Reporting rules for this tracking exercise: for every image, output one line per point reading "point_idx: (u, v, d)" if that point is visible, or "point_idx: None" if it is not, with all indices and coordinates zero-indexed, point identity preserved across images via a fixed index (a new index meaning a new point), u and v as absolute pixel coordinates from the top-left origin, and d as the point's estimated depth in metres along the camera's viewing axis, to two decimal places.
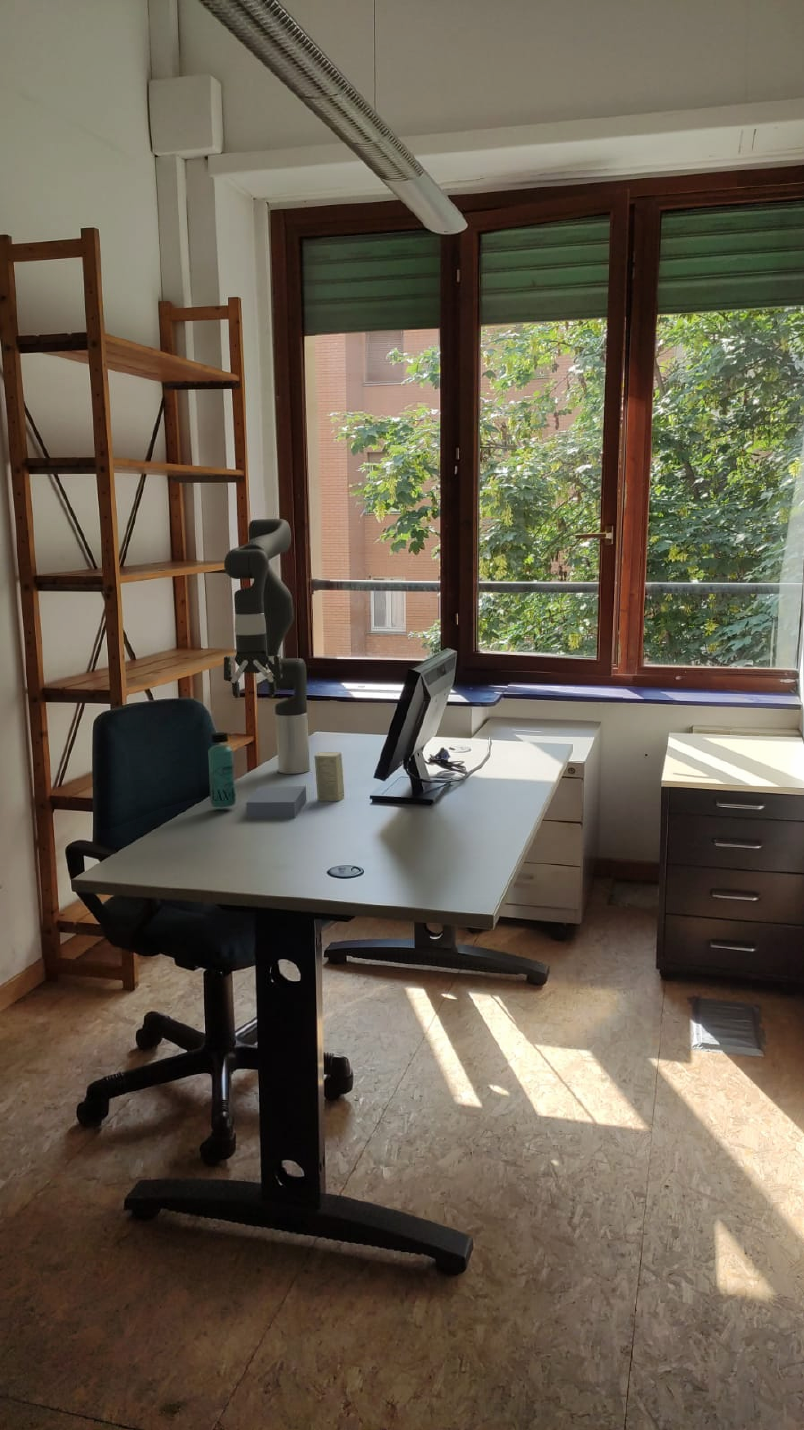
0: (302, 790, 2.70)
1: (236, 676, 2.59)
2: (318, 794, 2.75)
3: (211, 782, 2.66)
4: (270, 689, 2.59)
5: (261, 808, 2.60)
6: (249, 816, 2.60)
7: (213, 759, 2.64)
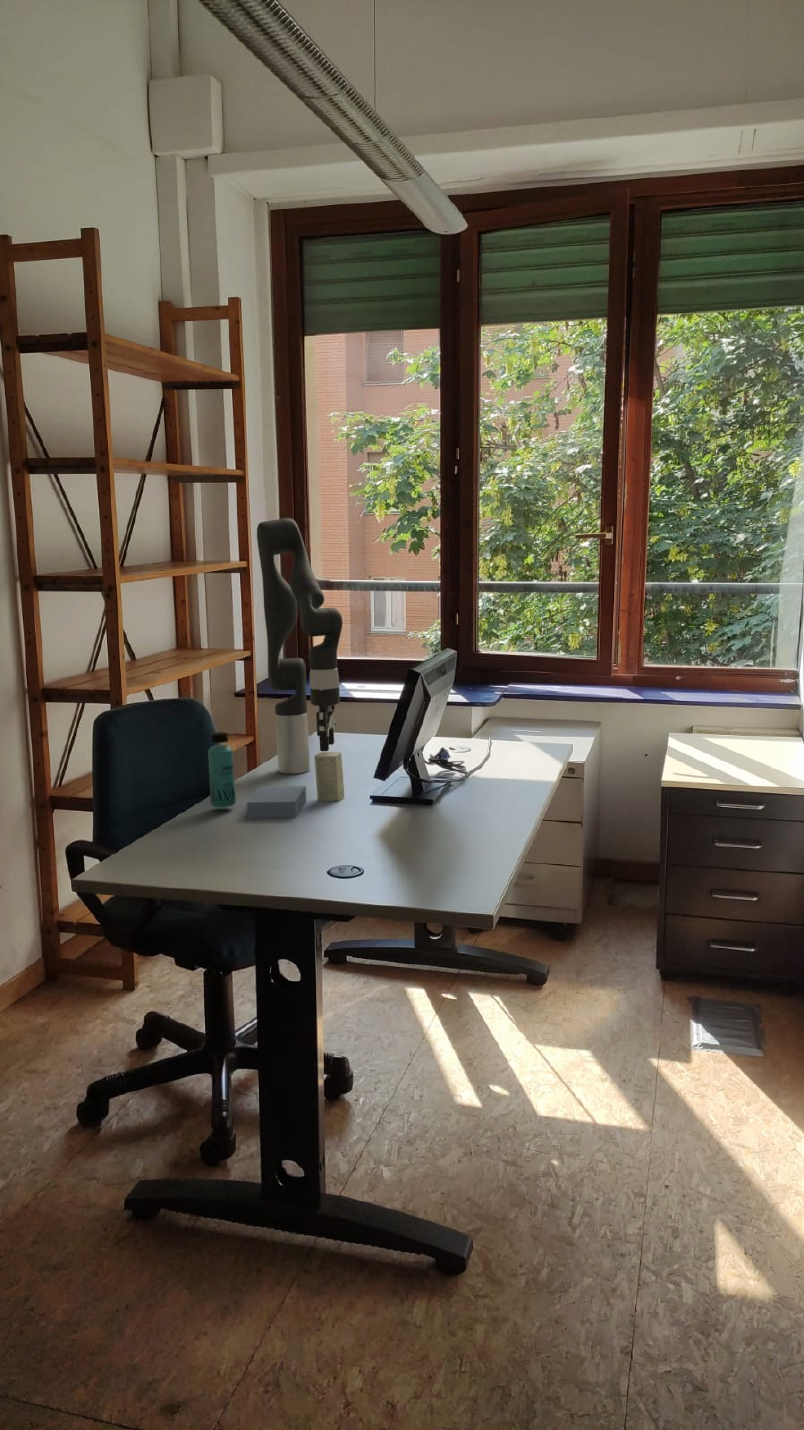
0: (302, 790, 2.70)
1: (328, 729, 2.69)
2: (318, 794, 2.75)
3: (211, 782, 2.66)
4: (333, 736, 2.78)
5: (262, 808, 2.60)
6: (250, 816, 2.60)
7: (213, 759, 2.64)
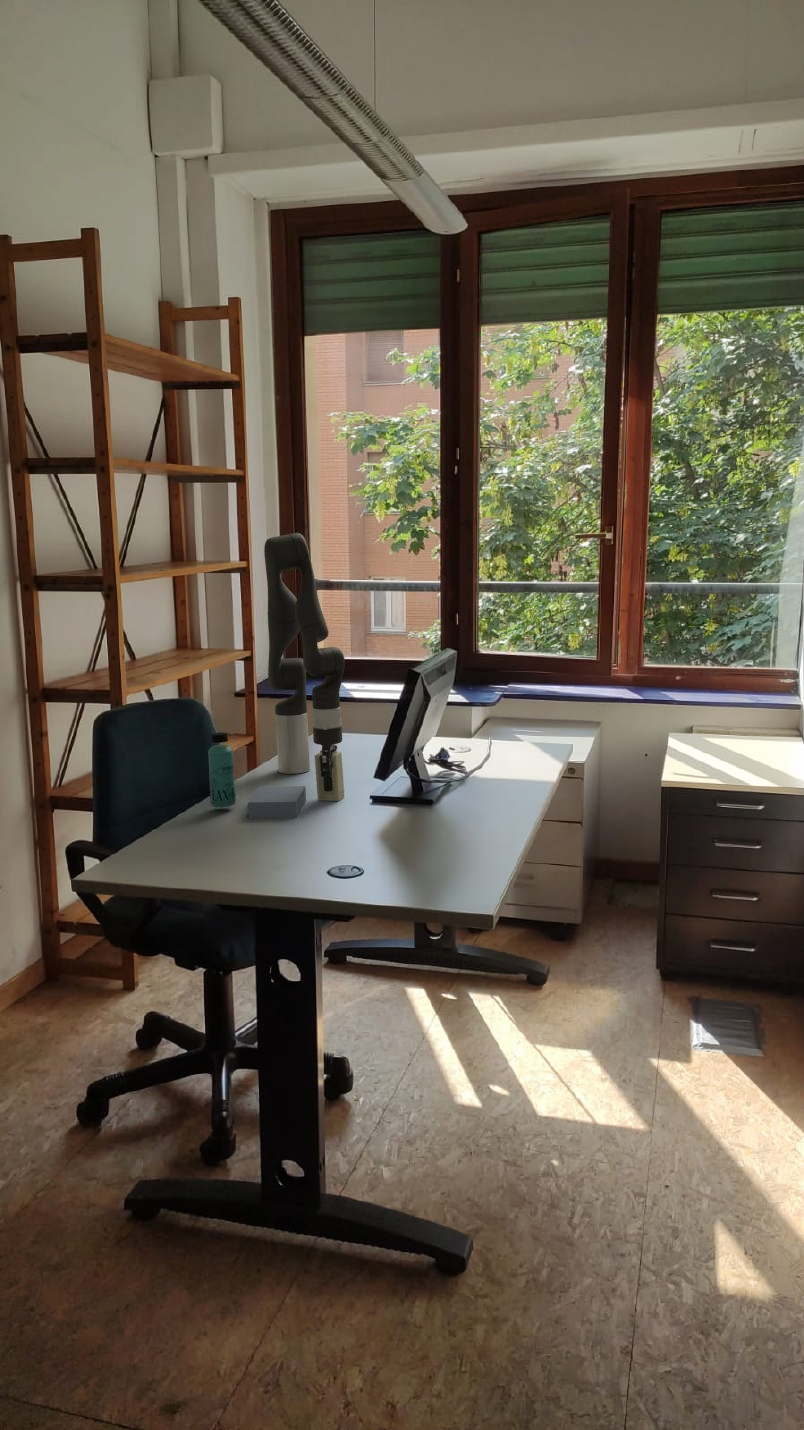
0: (302, 790, 2.70)
1: None
2: (318, 793, 2.75)
3: (211, 782, 2.66)
4: None
5: (263, 808, 2.60)
6: (251, 816, 2.60)
7: (213, 759, 2.64)
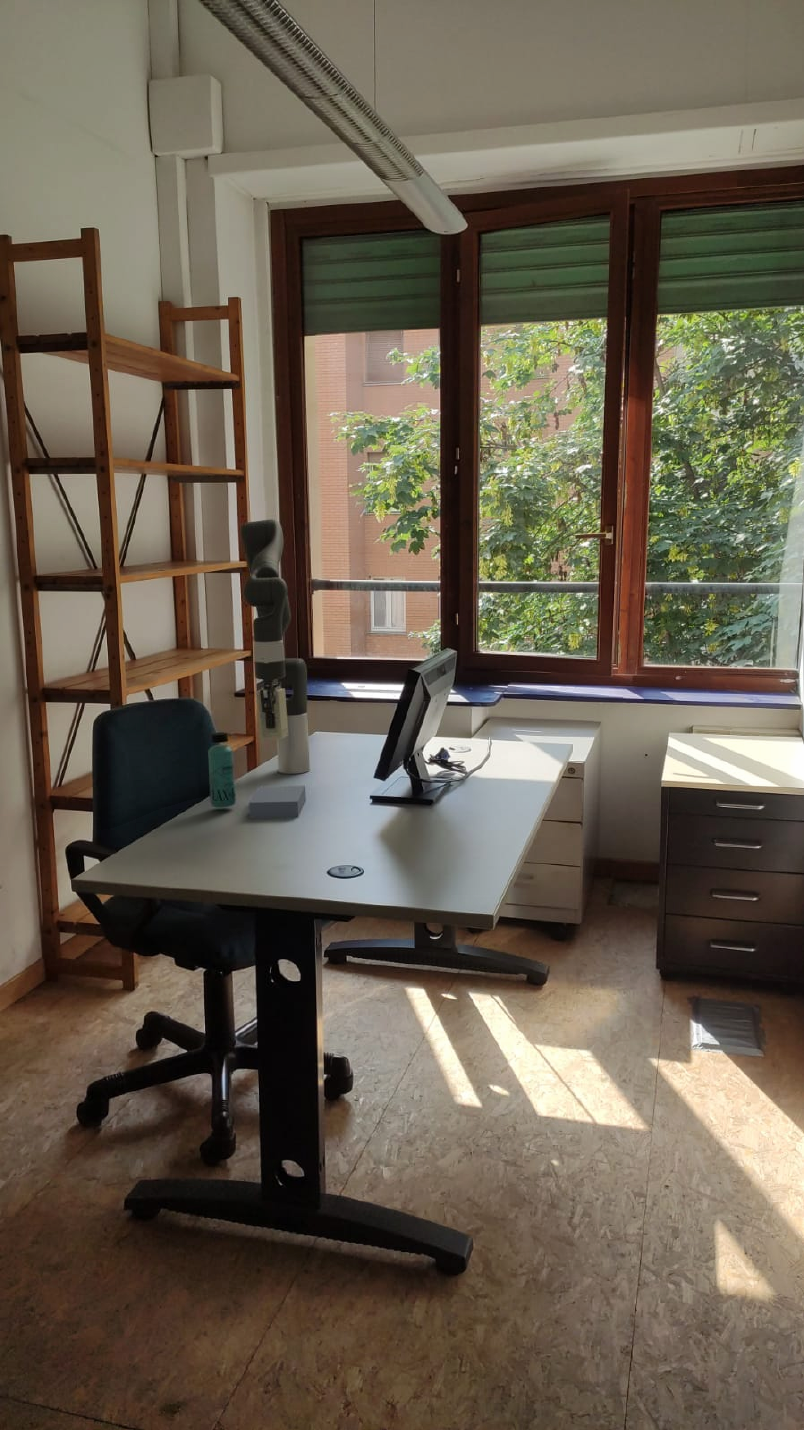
0: (302, 790, 2.70)
1: (274, 705, 2.60)
2: (260, 731, 2.63)
3: (211, 782, 2.66)
4: None
5: (264, 808, 2.60)
6: (252, 816, 2.60)
7: (213, 759, 2.64)
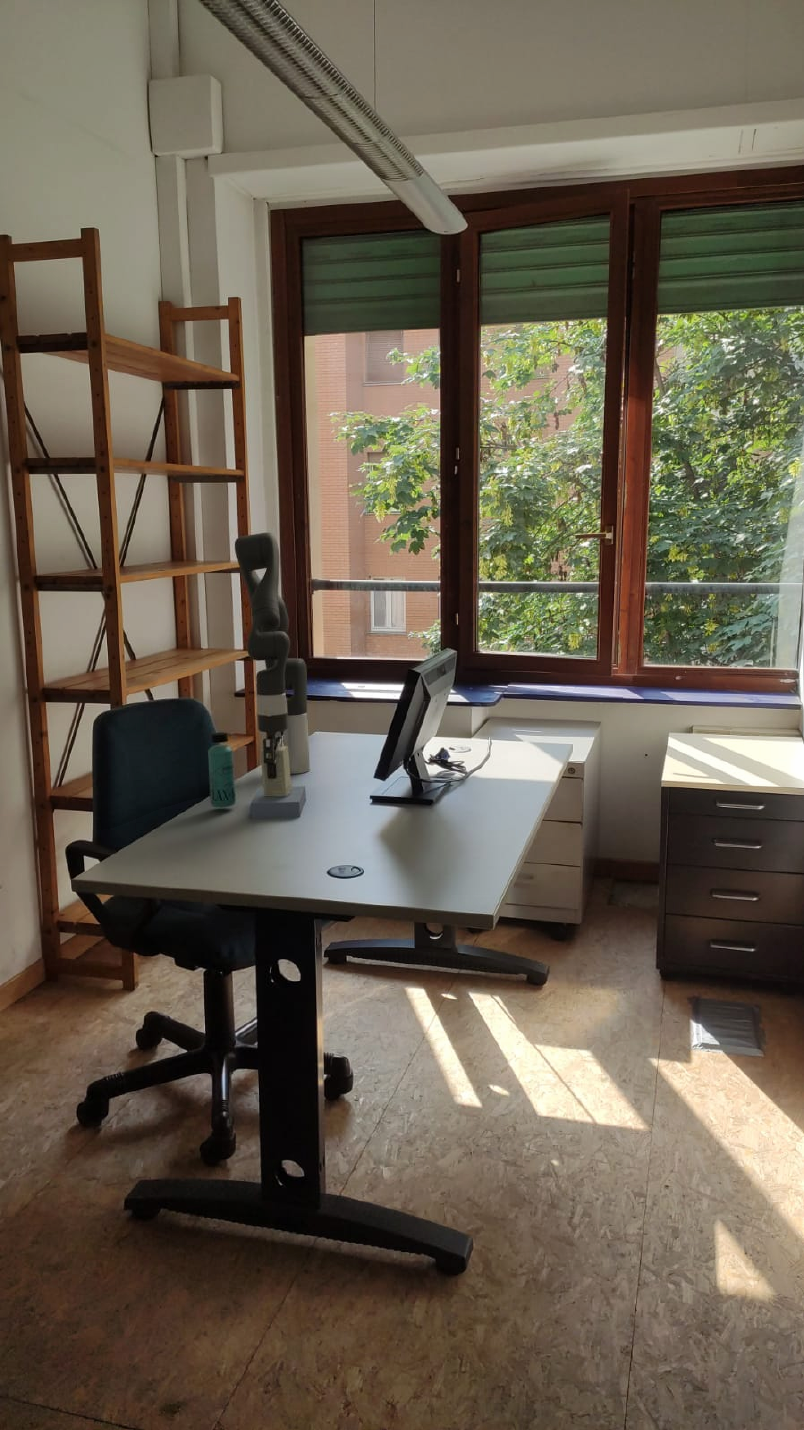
0: (303, 790, 2.71)
1: (276, 756, 2.61)
2: (264, 789, 2.65)
3: (211, 782, 2.66)
4: None
5: (266, 809, 2.60)
6: (253, 817, 2.60)
7: (213, 759, 2.64)
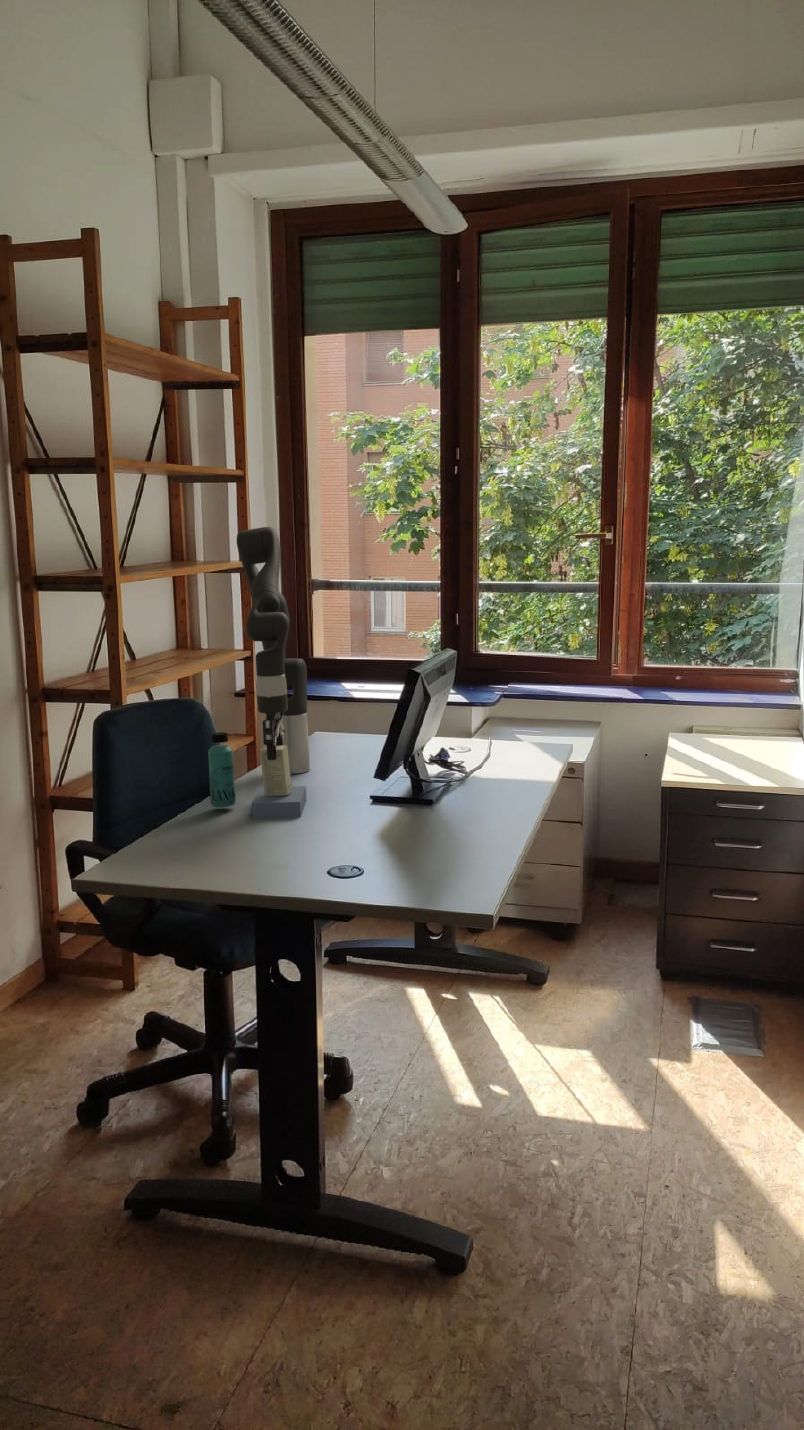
0: (304, 790, 2.71)
1: (275, 737, 2.61)
2: (265, 789, 2.66)
3: (211, 782, 2.66)
4: (282, 744, 2.69)
5: (266, 809, 2.60)
6: (254, 817, 2.60)
7: (213, 759, 2.64)
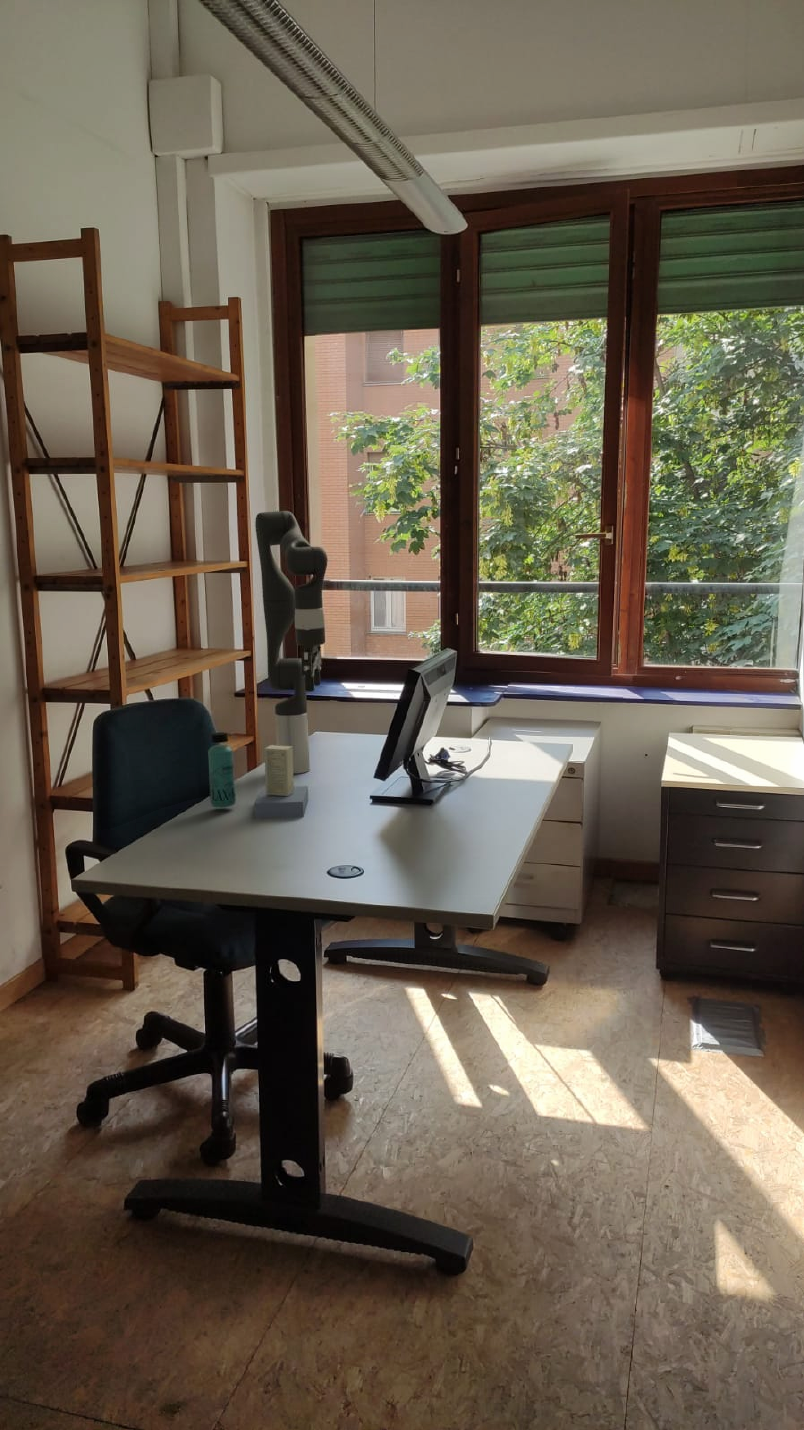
0: (306, 790, 2.71)
1: (313, 669, 2.68)
2: (266, 788, 2.66)
3: (211, 782, 2.66)
4: (319, 677, 2.76)
5: (269, 809, 2.60)
6: (257, 817, 2.60)
7: (213, 759, 2.64)
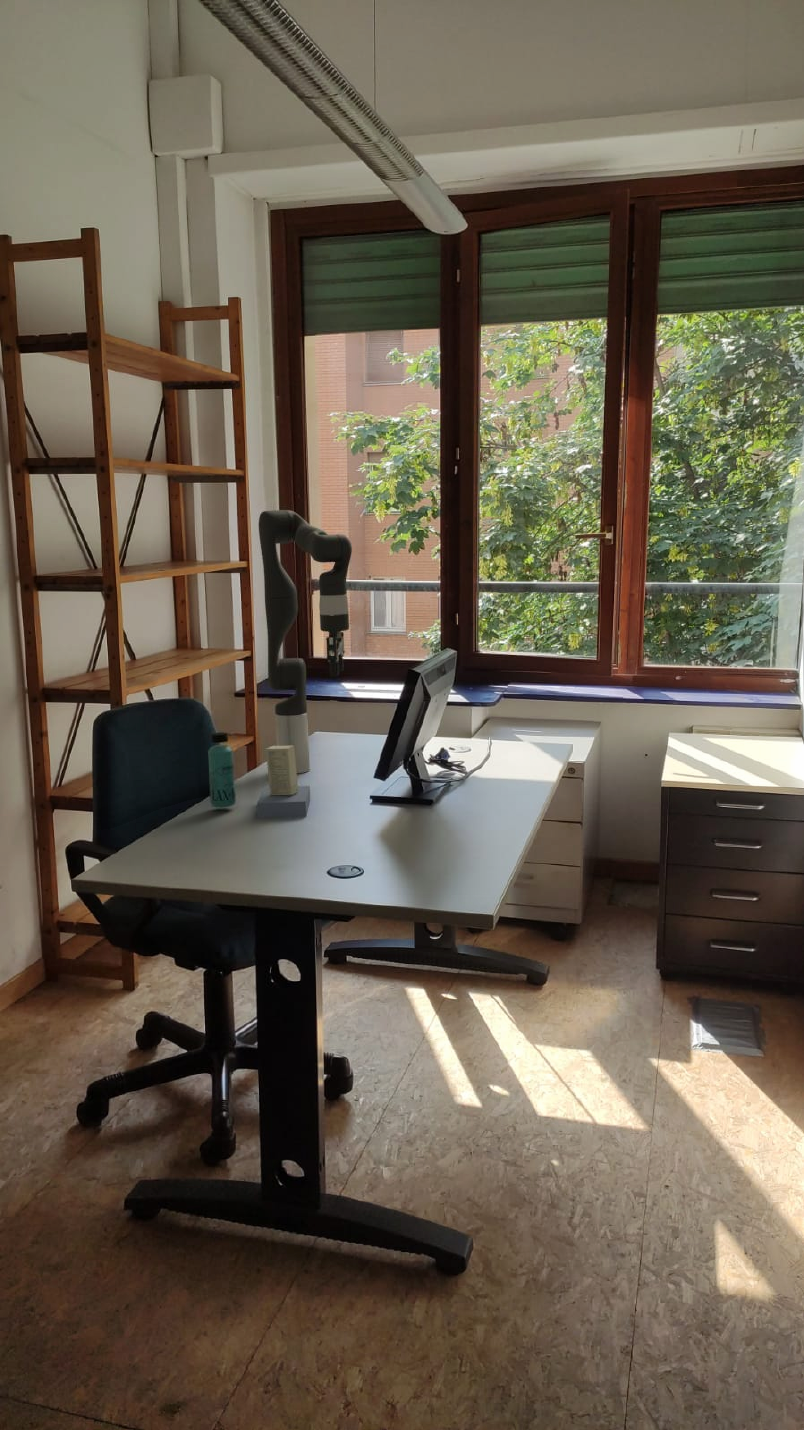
0: (308, 790, 2.71)
1: (338, 655, 2.73)
2: (270, 788, 2.66)
3: (211, 782, 2.66)
4: (342, 663, 2.81)
5: (272, 808, 2.60)
6: (260, 817, 2.60)
7: (213, 759, 2.64)
